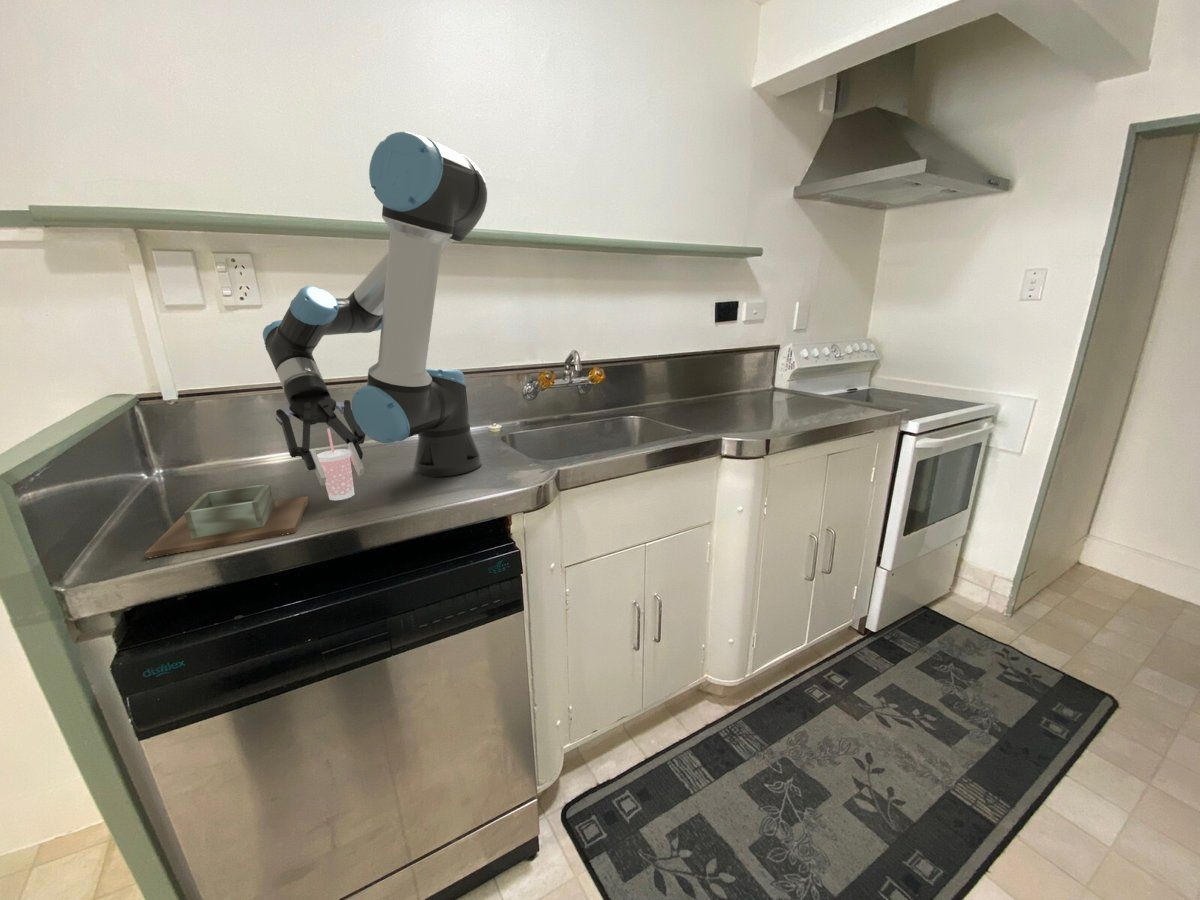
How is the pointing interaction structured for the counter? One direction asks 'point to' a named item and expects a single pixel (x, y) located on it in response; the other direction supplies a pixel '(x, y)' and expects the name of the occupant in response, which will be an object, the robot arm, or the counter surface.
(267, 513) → the cup holder
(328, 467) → the beverage cup
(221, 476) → the counter surface
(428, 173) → the robot arm
